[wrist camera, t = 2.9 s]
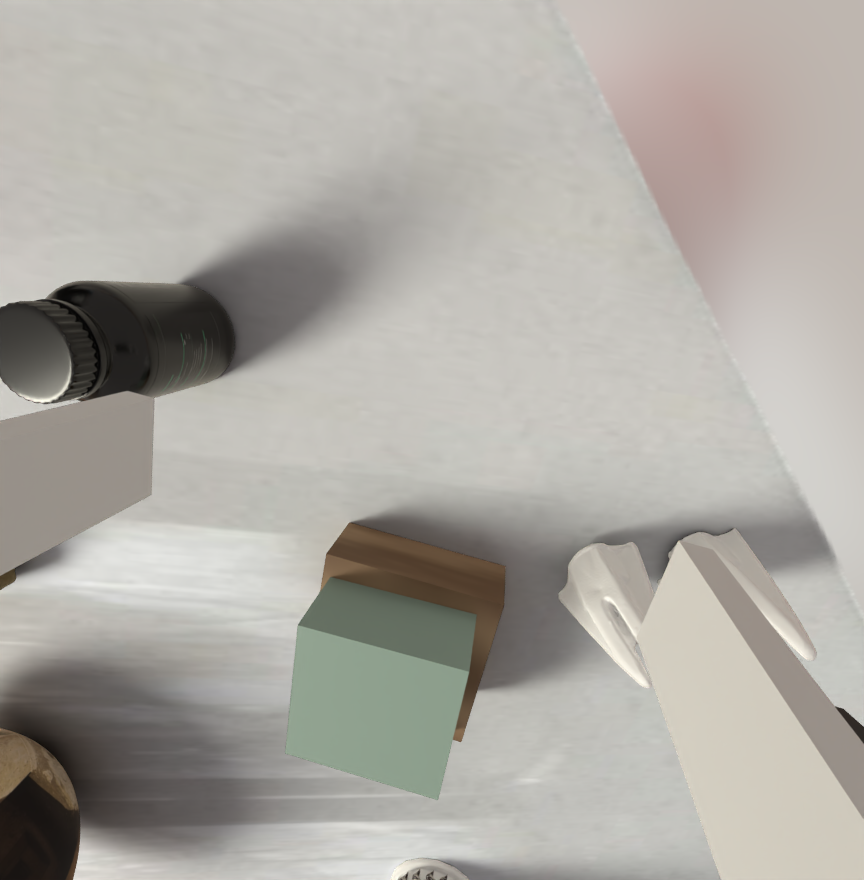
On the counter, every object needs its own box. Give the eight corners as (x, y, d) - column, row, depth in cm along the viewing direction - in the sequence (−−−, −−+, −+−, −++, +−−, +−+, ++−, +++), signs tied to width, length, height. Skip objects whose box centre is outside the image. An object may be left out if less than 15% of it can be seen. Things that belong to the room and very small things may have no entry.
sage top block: (330, 576, 32) (297, 625, 27) (476, 614, 31) (469, 671, 26) (316, 692, 35) (285, 753, 30) (449, 730, 34) (437, 800, 29)
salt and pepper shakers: (556, 588, 35) (573, 714, 24) (552, 536, 33) (568, 644, 23) (739, 582, 32) (846, 720, 22) (741, 526, 31) (854, 643, 21)
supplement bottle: (134, 343, 35) (-51, 366, 23) (174, 263, 32) (-9, 245, 21) (210, 402, 35) (63, 452, 24) (255, 326, 33) (117, 342, 21)
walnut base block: (351, 520, 36) (326, 553, 32) (505, 563, 35) (504, 604, 30) (328, 645, 40) (303, 691, 35) (467, 688, 39) (461, 742, 34)
